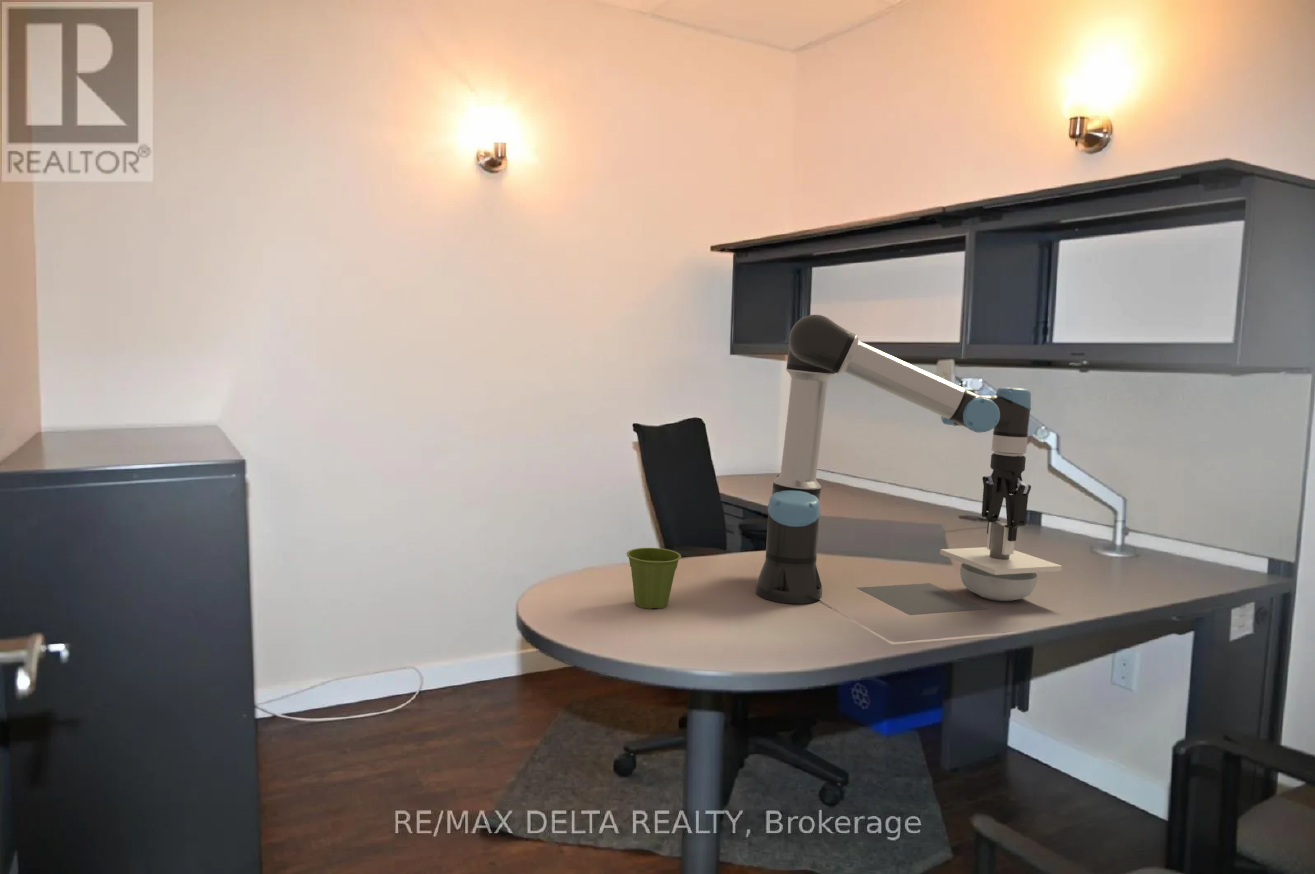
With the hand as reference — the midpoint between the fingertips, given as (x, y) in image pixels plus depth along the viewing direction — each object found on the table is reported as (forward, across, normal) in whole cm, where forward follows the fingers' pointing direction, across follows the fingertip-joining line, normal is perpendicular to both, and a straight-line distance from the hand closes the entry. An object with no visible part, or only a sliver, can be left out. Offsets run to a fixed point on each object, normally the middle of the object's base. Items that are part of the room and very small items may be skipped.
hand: (999, 551), depth 203 cm
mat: (+11, +2, +20) cm, 23 cm away
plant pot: (+11, +11, +83) cm, 85 cm away
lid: (+3, 0, 0) cm, 3 cm away
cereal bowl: (+12, 0, 0) cm, 12 cm away
